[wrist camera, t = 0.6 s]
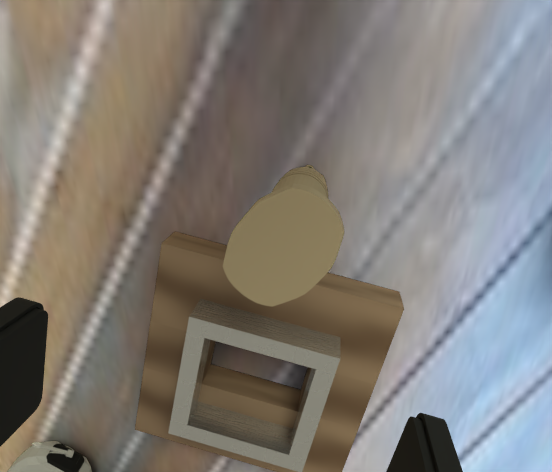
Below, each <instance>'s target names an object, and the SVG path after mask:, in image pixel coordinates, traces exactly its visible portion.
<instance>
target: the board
mask: <svg viewBox="0 0 552 472" xmlns="http://www.w3.org/2000/svg"><path fill="white" fill-rule="evenodd" d="M226 249H227V245H223V244H220V243H216V242H212V241H208V240H205V239H201V238H197V237H194V236H190V235H186V234H182V233H179V232H174V233H173V234H172V235H170V236H169V237H168V238H167V239H166V240H165V241H164V242H163V243H162V245H161V252H160V258H159V265H158V272H157V279H156V286H155V293H154V300H153V307H152V314H151V321H150V328H149V335H148V342H147V349H146V356H145V363H144V370H143V377H142V384H141V390H140V397H139V404H138V411H137V418H136V425H135V430H138V431H141V432H145V433H148V434H152V435H155V436H158V437H162V438H165V439H168V440H172V441H175V442H179V443H182V444H185V445H189V446H192V447H195V448H199V449H202V450H205V451H209V452H212V453H216V454H219V455H222V456H226V457H229V458H232V459H236V460H239V461H242V462H246V463H249V464H253V465H256V466H259V467H263V468H266V469H269V470H273V471H276V472H297V471H294V470H290V469H287V468H284V467H280V466H277V465H273V464H270V463H267V462H263V461H260V460H257V459H253V458H250V457H246V456H243V455H240V454H236V453H233V452H230V451H226V450H223V449H219V448H216V447H213V446H209V445H206V444H203V443H199V442H196V441H192V440H189V439H186V438H182V437H179V436H176V435H172V434H169V433H168V432H169V426H170V421H171V415H172V409H173V404H174V398H175V393H176V387H177V382H178V376H179V371H180V365H181V359H182V354H183V348H184V343H185V337H186V332H187V326H188V321H189V316H190V315H191V313H192V312H193V310H194V309H195V307H196V305H197V304H198V302H199V301H200V299H204V300H207V301H211V302H214V303H218V304H222V305H225V306H229V307H233V308H236V309H240V310H243V311H247V312H251V313H254V314H258V315H261V316H265V317H269V318H272V319H276V320H279V321H283V322H287V323H290V324H294V325H297V326H301V327H305V328H308V329H312V330H316V331H319V332H323V333H326V334H330V335H334V336H337V337H340V361H339V364H338V367H337V370H336V373H335V376H334V379H333V382H332V385H331V388H330V391H329V394H328V397H327V400H326V403H325V406H324V409H323V412H322V415H321V418H320V421H319V424H318V427H317V430H316V433H315V436H314V439H313V441H312V444H311V447H310V450H309V453H308V456H307V459H306V462H305V465H304V468H303V471H302V472H342V470H343V468H344V465H345V462H346V460H347V457H348V455H349V452H350V449H351V447H352V444H353V441H354V439H355V436H356V434H357V431H358V428H359V426H360V423H361V420H362V418H363V415H364V413H365V410H366V407H367V405H368V402H369V399H370V397H371V394H372V392H373V389H374V386H375V384H376V381H377V378H378V376H379V373H380V371H381V368H382V365H383V363H384V360H385V358H386V355H387V352H388V350H389V347H390V344H391V342H392V339H393V337H394V334H395V331H396V329H397V326H398V323H399V321H400V318H401V316H402V313H403V310H404V307H403V303H402V300H401V296H400V292H398V291H394V290H391V289H387V288H383V287H379V286H376V285H372V284H368V283H365V282H361V281H357V280H353V279H350V278H346V277H342V276H339V275H335V274H331V273H327V274H326V275H325V276H324V277H323V278H322V279H321V280H320V281H319V282H318V283H317V284H316V285H315V286H314V287H313V288H312V289H311V290H309V291H308V292H307V293H306V294H304V295H302V296H300V297H298V298H296V299H293V300H290V301H288V302H285V303H282V304H279V305H276V306H273V307H271V306H265V305H262V304H258V303H256V302H254V301H252V300H250V299H248V298H247V297H245V296H244V295H243V294H241V293H240V292H239V291H238V290H237V289H236V288H235V287H234V286H233V285H232V284H231V282H230V281H229V280H228V278H227V276H226V274H225V271H224V269H223V263H224V258H225V253H226ZM215 342H216V341H214V340H210V345H209V350H208V355H207V360H206V365H205V370H204V375H203V379H202V384H201V389H200V394H199V399H198V401H199V402H202V403H206V404H209V405H213V406H216V407H220V408H223V409H226V410H230V411H233V412H237V413H240V414H244V415H247V416H251V417H254V418H257V419H261V420H264V421H268V422H271V423H275V424H278V425H281V426H285V427H288V428H292V429H293V426H294V423H295V420H296V417H297V413H298V410H299V407H300V404H301V401H302V397H303V394H304V391H305V388H306V385H307V381H308V378H309V375H310V372H311V369H312V368H309V367H308V368H307V372H306V375H305V378H304V381H303V385H302V388H301V390H300V389H296V388H293V387H289V386H286V385H282V384H279V383H275V382H272V381H268V380H265V379H261V378H258V377H254V376H251V375H247V374H244V373H240V372H237V371H233V370H230V369H226V368H223V367H219V366H216V365H212V364H211V361H212V356H213V352H214V347H215Z"/></svg>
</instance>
